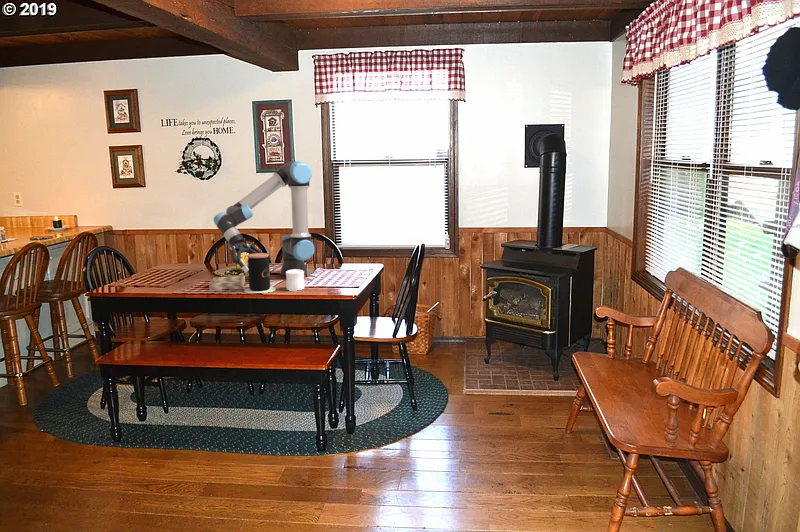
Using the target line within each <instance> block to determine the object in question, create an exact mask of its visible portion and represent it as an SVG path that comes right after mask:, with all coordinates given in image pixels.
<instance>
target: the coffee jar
mask: <svg viewBox="0 0 800 532" xmlns="http://www.w3.org/2000/svg"><path fill="white" fill-rule="evenodd" d="M269 256H270V254H269V253H264V252H262V253H255V254H249V253H248V254H247V258H248V259H247V267H248V269H249V270H248V272H247V273H248V288H250V289H251V290H252V291H265V290H269V288H270V287H271V272H270V259H269Z"/></svg>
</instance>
